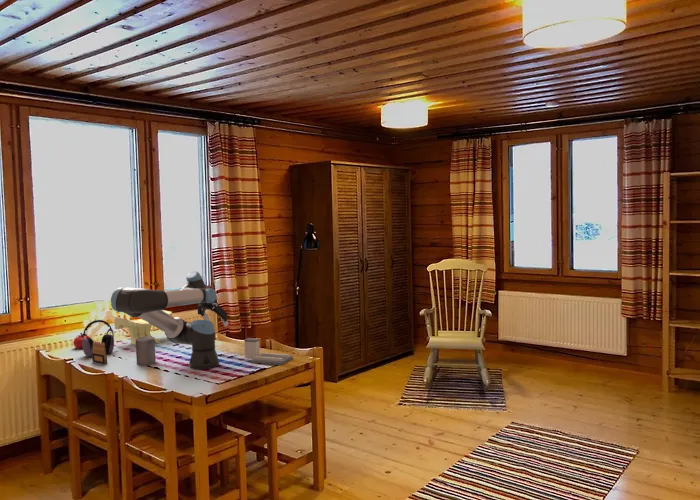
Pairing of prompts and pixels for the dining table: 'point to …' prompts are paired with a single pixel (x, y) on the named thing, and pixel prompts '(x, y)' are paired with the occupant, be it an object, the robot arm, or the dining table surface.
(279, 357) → the end holder
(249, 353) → the grey rectangular block
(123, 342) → the dining table surface
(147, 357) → the pillar candle
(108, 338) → the headphones
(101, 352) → the ammunition clip
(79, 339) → the pomegranate
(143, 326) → the slatted curved stool
